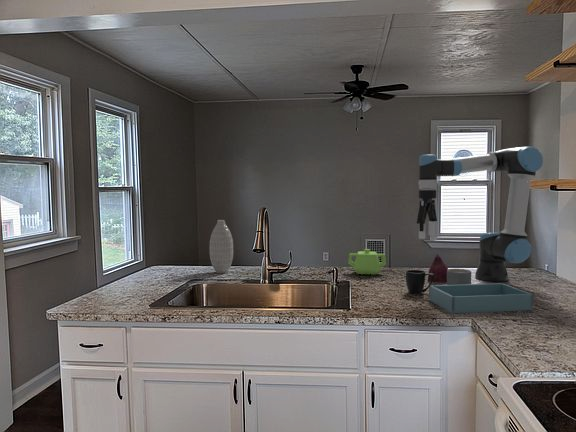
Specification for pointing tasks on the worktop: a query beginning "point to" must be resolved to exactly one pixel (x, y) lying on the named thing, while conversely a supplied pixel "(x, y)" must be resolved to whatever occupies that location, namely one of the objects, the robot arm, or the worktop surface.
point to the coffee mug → (458, 276)
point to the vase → (221, 247)
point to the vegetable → (438, 270)
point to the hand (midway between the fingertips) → (426, 237)
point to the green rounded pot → (367, 262)
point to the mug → (416, 281)
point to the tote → (480, 298)
